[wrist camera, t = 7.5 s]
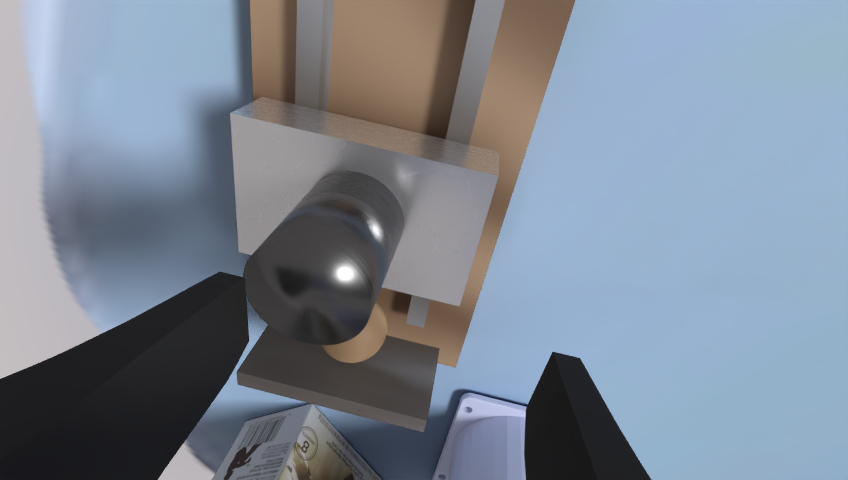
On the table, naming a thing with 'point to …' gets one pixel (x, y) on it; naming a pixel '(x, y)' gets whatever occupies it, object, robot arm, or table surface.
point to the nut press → (418, 112)
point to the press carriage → (351, 215)
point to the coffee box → (293, 450)
